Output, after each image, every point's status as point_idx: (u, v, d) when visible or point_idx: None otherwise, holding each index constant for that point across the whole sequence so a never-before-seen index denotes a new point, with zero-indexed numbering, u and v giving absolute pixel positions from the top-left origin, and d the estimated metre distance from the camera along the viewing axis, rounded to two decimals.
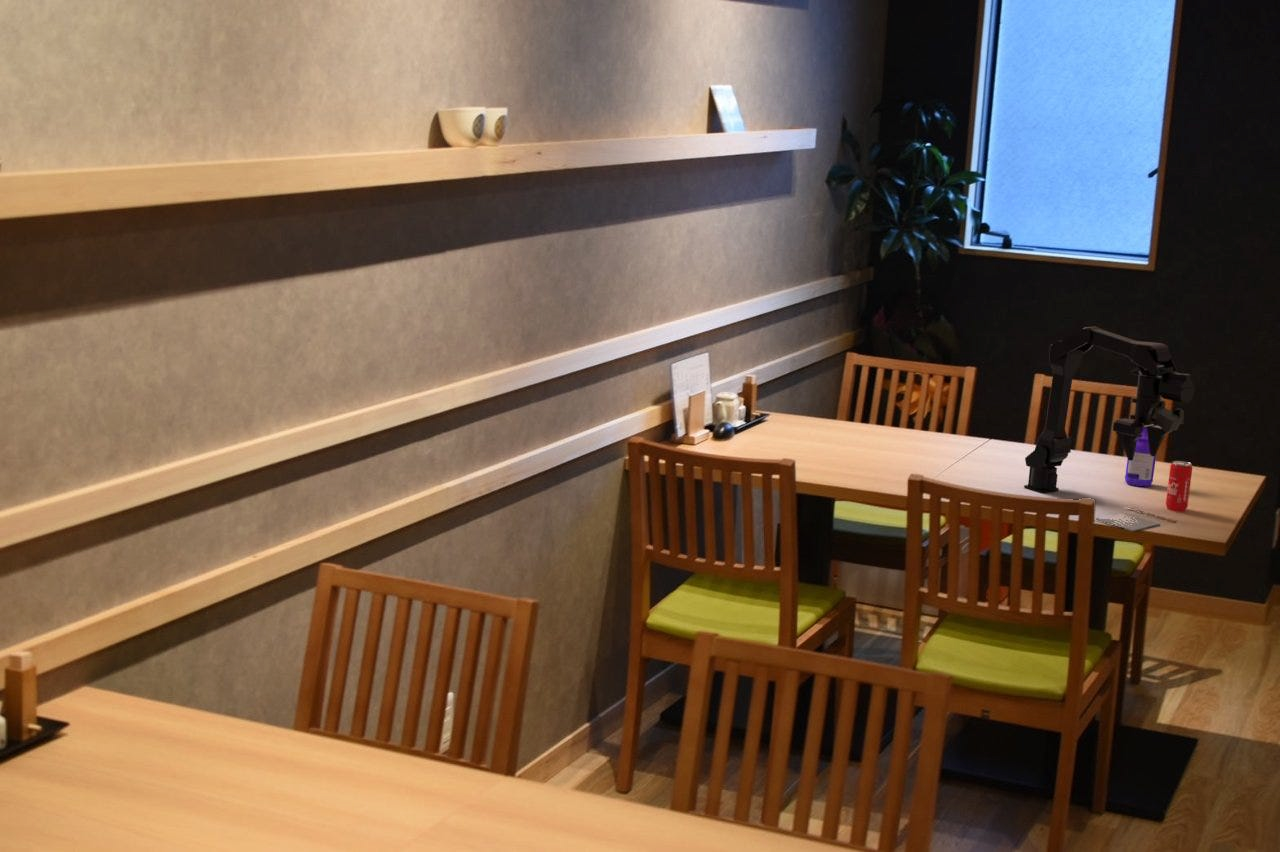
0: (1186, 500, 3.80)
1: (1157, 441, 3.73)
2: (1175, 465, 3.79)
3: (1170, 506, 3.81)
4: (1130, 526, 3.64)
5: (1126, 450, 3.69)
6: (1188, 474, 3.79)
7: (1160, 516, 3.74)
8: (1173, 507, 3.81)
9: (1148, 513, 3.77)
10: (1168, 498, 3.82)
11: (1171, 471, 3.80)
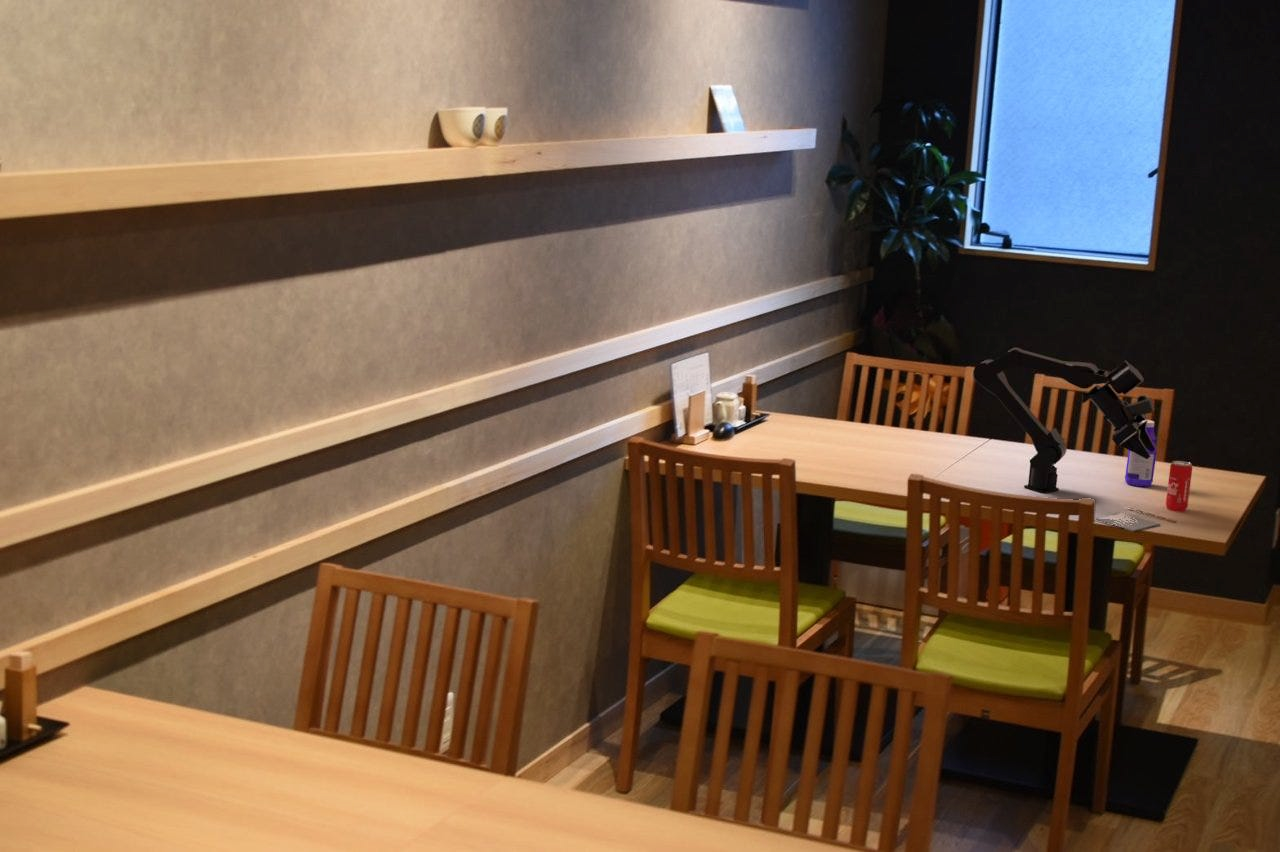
0: (1186, 500, 3.80)
1: (1146, 436, 3.88)
2: (1175, 465, 3.79)
3: (1170, 506, 3.81)
4: (1130, 526, 3.64)
5: (1139, 452, 3.79)
6: (1188, 474, 3.79)
7: (1160, 516, 3.74)
8: (1173, 507, 3.81)
9: (1148, 513, 3.77)
10: (1168, 498, 3.82)
11: (1171, 471, 3.80)
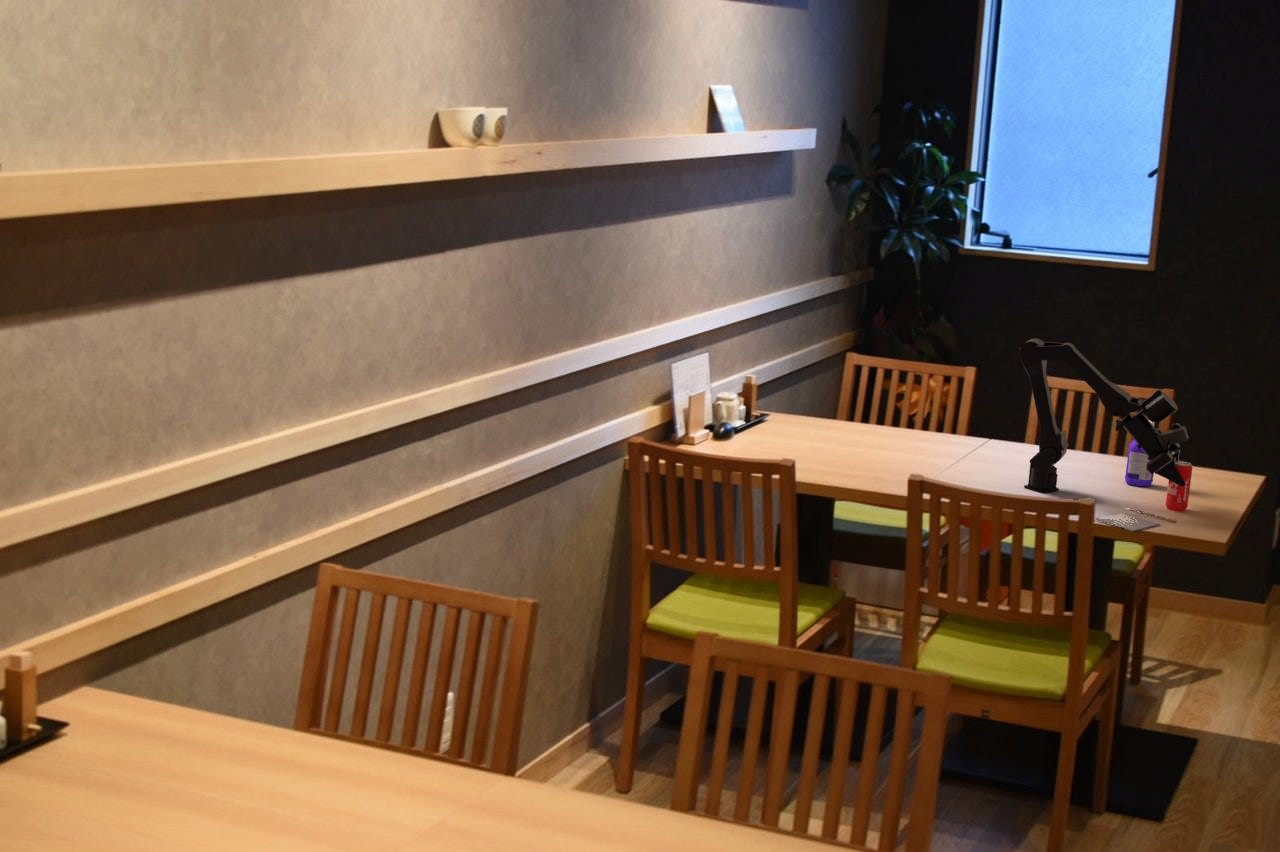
0: (1186, 500, 3.80)
1: None
2: (1175, 465, 3.79)
3: (1170, 506, 3.81)
4: (1130, 526, 3.64)
5: (1174, 480, 3.78)
6: (1188, 474, 3.79)
7: (1160, 516, 3.74)
8: (1173, 507, 3.81)
9: (1148, 513, 3.77)
10: (1168, 498, 3.82)
11: None
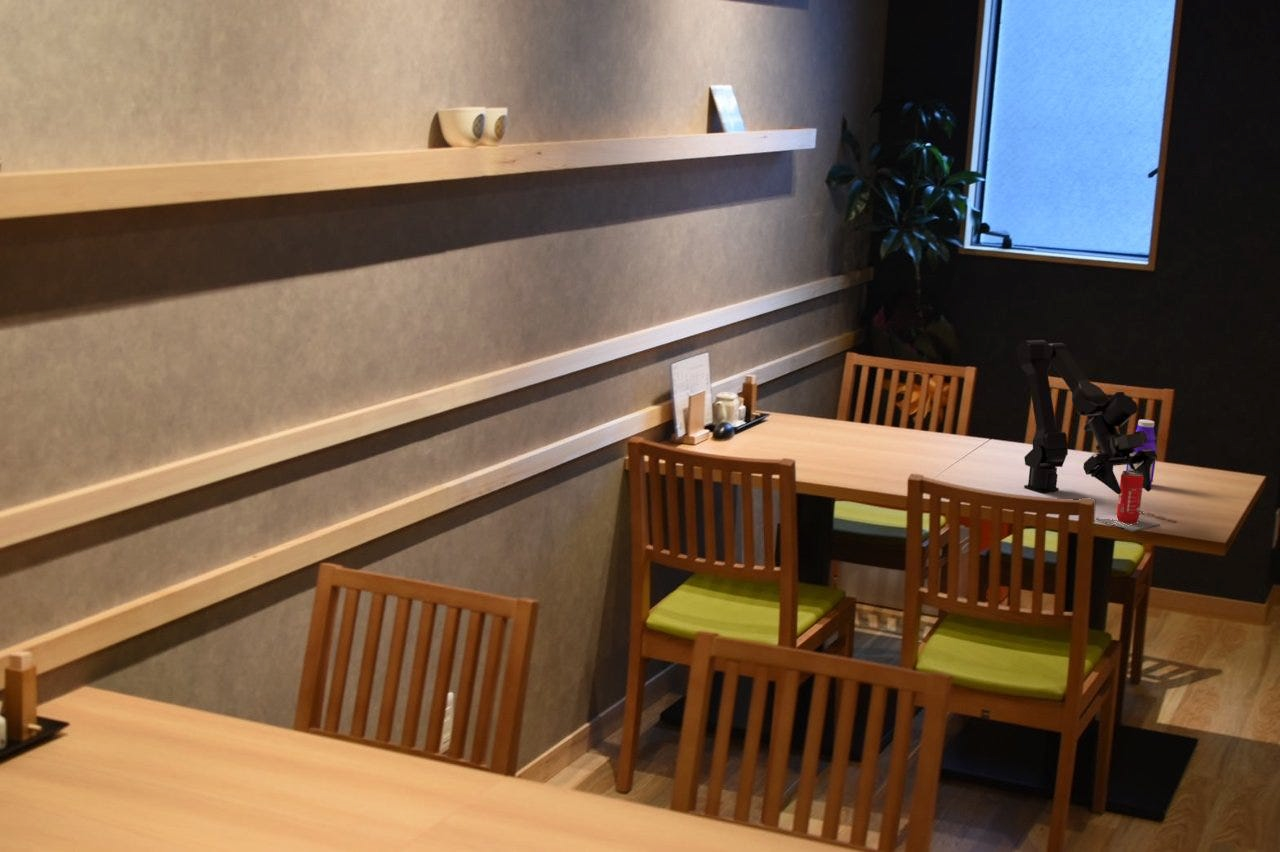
0: (1131, 511, 3.66)
1: (1144, 475, 3.69)
2: (1122, 473, 3.67)
3: None
4: (1130, 526, 3.64)
5: (1110, 486, 3.65)
6: (1132, 484, 3.64)
7: (1160, 516, 3.74)
8: (1118, 516, 3.68)
9: (1148, 513, 3.77)
10: (1117, 507, 3.70)
11: None
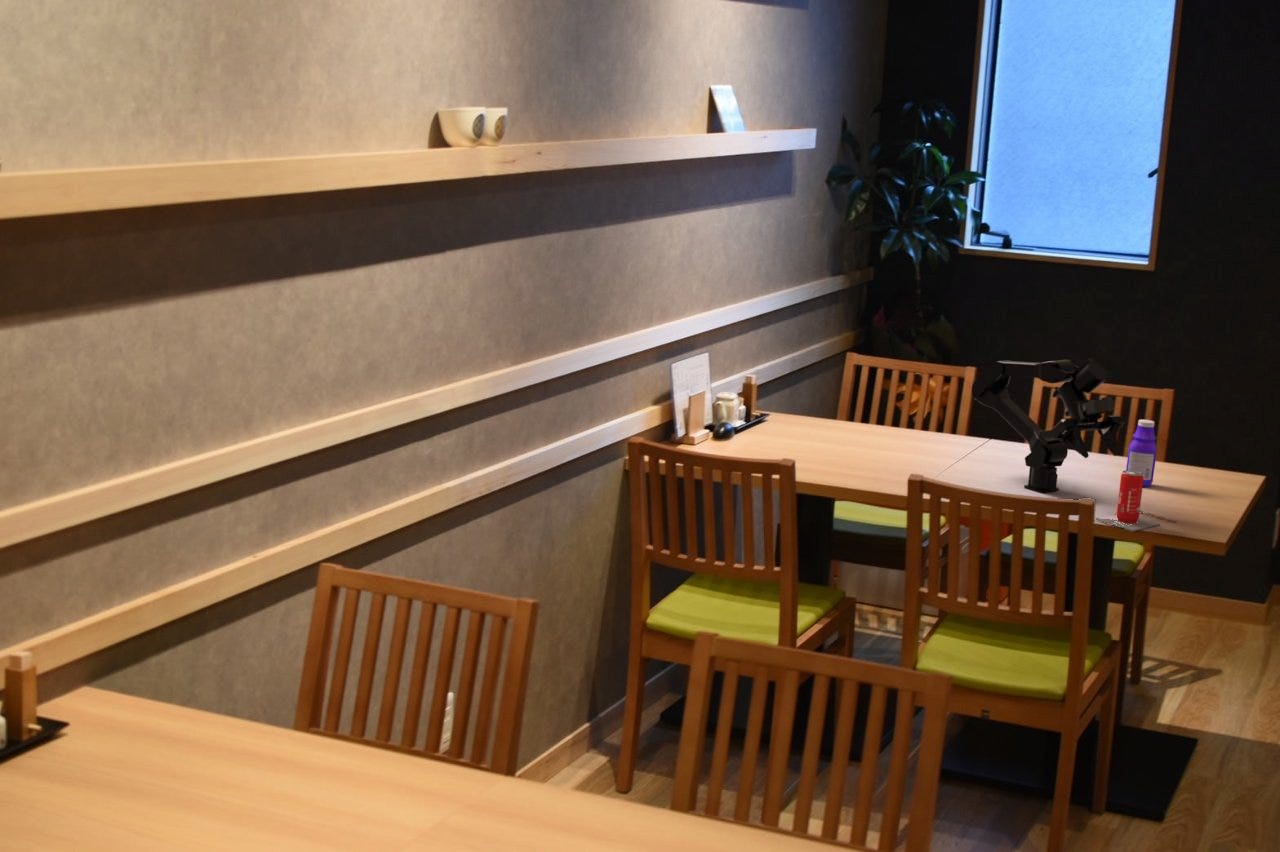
0: (1131, 511, 3.66)
1: (1111, 440, 3.80)
2: (1122, 473, 3.67)
3: None
4: (1130, 526, 3.64)
5: (1078, 450, 3.76)
6: (1132, 484, 3.64)
7: (1160, 516, 3.74)
8: (1118, 516, 3.68)
9: (1148, 513, 3.77)
10: (1117, 507, 3.70)
11: None
